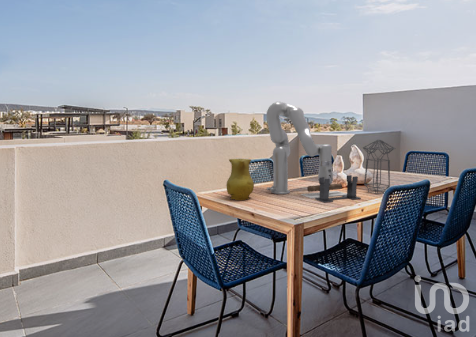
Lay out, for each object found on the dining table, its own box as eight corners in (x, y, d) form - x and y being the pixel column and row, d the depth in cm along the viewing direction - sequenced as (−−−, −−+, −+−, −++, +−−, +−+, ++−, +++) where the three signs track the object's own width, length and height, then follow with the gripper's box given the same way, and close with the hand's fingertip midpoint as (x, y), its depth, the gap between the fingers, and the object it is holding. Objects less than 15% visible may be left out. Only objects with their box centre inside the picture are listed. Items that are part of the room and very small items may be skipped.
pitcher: (221, 199, 217) (222, 158, 215) (232, 195, 235) (233, 157, 233) (248, 202, 212) (249, 160, 210) (257, 197, 229) (259, 158, 227)
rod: (310, 192, 224) (310, 186, 224) (307, 191, 227) (307, 185, 227) (342, 189, 232) (342, 183, 232) (338, 188, 236) (338, 183, 235)
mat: (310, 198, 220) (310, 197, 220) (300, 195, 231) (300, 194, 231) (348, 194, 230) (348, 194, 230) (337, 191, 241) (337, 190, 241)
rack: (324, 202, 208) (325, 179, 206) (315, 199, 217) (315, 177, 216) (360, 198, 217) (361, 176, 216) (350, 195, 227) (350, 174, 225)
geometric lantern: (359, 191, 241) (361, 139, 237) (378, 189, 246) (380, 138, 242) (375, 195, 227) (377, 140, 222) (395, 193, 231) (397, 139, 227)
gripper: (338, 164, 221) (337, 193, 224) (322, 162, 237) (322, 189, 239) (327, 165, 219) (327, 194, 221) (313, 162, 234) (312, 190, 236)
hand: (324, 191), depth 230 cm, fingers closed on rod, 3 cm apart
